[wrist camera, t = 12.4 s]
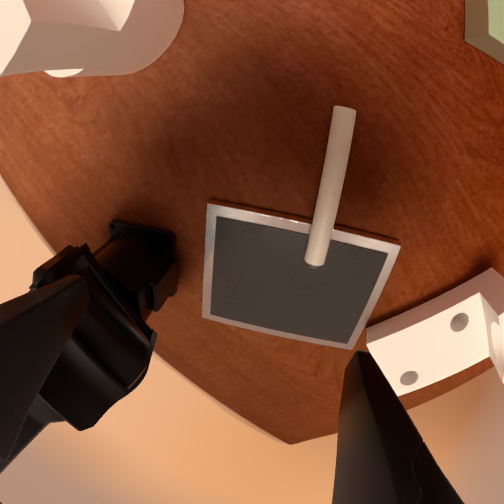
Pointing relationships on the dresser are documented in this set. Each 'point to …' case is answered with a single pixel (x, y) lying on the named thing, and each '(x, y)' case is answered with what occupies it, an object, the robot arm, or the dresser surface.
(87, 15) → the cylinder with rectangular tab
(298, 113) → the dresser surface
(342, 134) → the stylus
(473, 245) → the dresser surface
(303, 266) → the tablet
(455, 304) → the bracket
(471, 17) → the pen stand
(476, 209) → the dresser surface
